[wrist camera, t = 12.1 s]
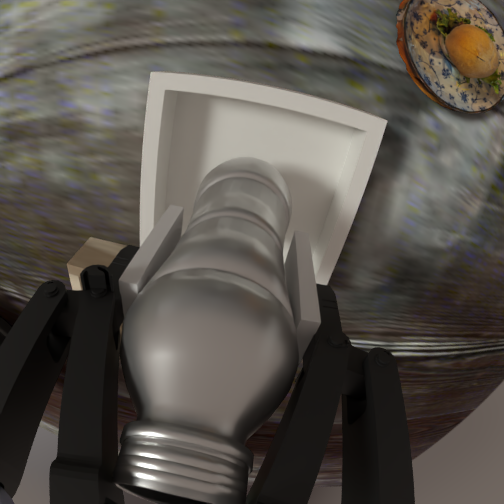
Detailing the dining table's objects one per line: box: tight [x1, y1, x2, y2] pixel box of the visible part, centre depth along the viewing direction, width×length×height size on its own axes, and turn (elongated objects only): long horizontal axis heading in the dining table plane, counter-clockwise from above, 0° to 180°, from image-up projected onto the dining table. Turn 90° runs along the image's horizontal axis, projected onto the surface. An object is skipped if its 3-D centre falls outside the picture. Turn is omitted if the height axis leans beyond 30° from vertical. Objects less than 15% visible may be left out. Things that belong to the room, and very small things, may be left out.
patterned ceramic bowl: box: [396, 0, 504, 114], centre depth 13 cm, size 12×12×8 cm
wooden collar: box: [67, 237, 127, 341], centre depth 30 cm, size 11×11×5 cm
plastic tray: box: [140, 71, 387, 285], centre depth 23 cm, size 16×16×4 cm
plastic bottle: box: [112, 157, 299, 504], centre depth 14 cm, size 6×7×20 cm
